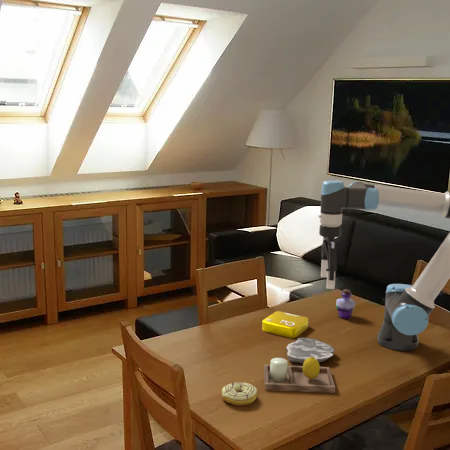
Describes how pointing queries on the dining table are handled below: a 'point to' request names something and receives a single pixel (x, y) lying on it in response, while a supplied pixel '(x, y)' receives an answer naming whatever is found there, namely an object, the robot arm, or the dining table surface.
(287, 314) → the element tile
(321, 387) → the organizer
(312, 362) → the lemon
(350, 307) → the potion bottle
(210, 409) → the dining table surface
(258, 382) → the dining table surface
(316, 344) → the brain slice
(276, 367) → the white capsule pill
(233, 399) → the decorated donut
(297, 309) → the dining table surface
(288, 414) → the dining table surface
